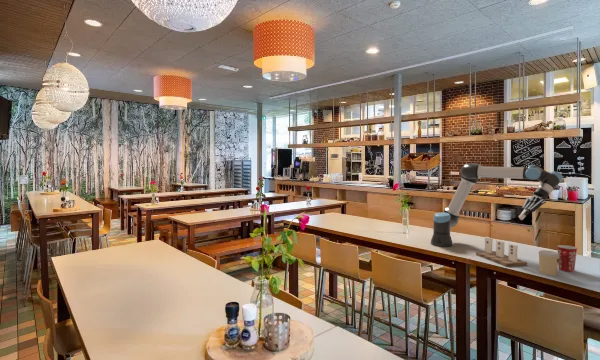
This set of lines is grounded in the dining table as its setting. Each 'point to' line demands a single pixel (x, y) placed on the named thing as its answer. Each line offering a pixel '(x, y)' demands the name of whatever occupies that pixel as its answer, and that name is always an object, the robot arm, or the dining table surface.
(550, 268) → the coffee cup
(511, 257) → the tile
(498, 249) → the tile
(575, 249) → the mug
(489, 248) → the tile
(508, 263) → the tap board
